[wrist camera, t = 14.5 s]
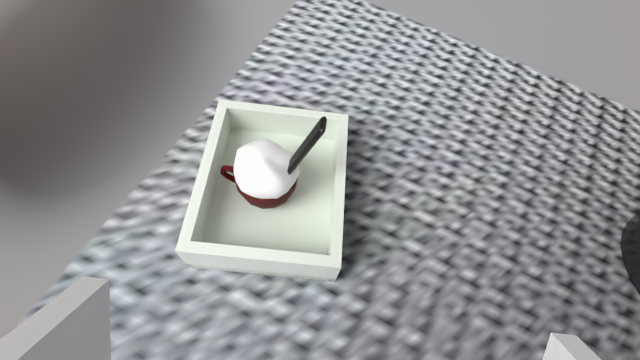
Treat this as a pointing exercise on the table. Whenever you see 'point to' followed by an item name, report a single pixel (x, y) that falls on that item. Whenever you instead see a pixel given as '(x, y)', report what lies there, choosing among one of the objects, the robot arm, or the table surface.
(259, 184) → the cocoa
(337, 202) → the bin
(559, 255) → the table surface
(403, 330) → the table surface
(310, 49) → the table surface
